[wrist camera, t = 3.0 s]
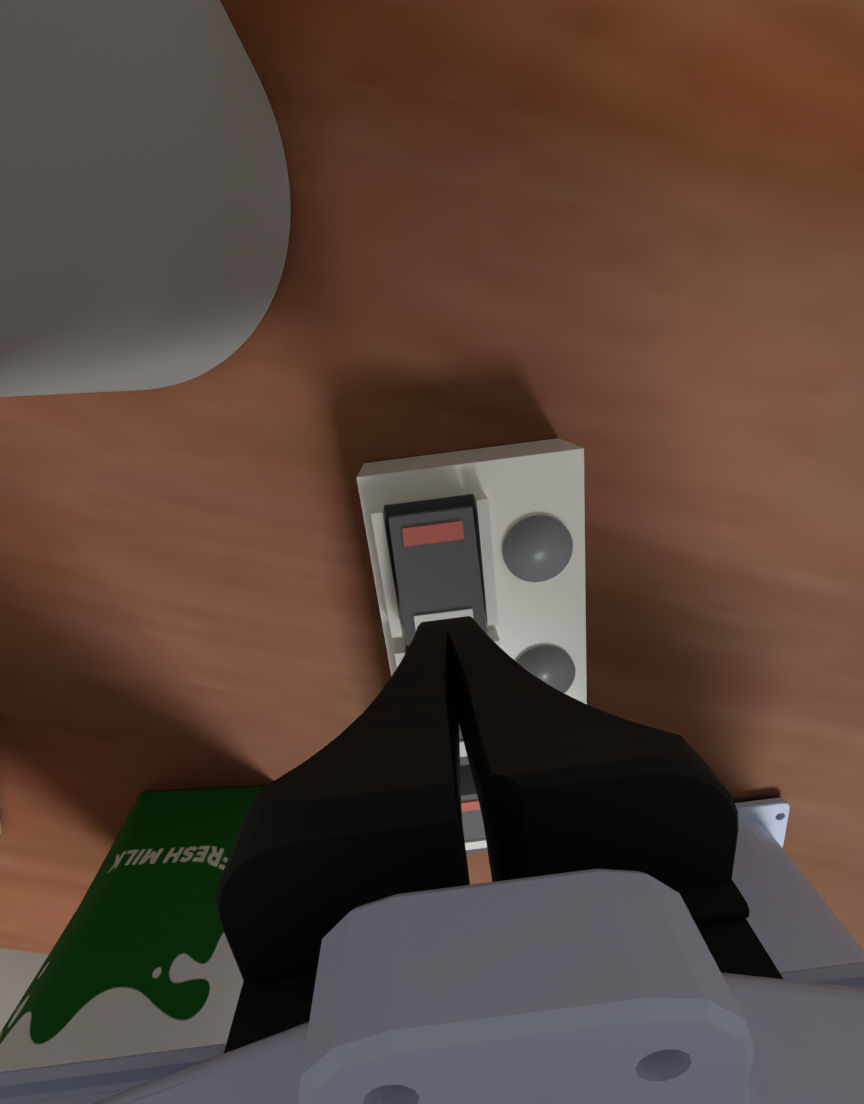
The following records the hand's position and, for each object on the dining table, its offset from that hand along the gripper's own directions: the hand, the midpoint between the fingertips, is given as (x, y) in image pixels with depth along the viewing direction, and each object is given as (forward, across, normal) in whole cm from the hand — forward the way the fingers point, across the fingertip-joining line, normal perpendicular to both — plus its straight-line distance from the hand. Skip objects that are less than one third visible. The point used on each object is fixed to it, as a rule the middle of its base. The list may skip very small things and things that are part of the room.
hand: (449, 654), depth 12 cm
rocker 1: (+5, 0, 0) cm, 5 cm away
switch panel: (+9, -2, +8) cm, 12 cm away
